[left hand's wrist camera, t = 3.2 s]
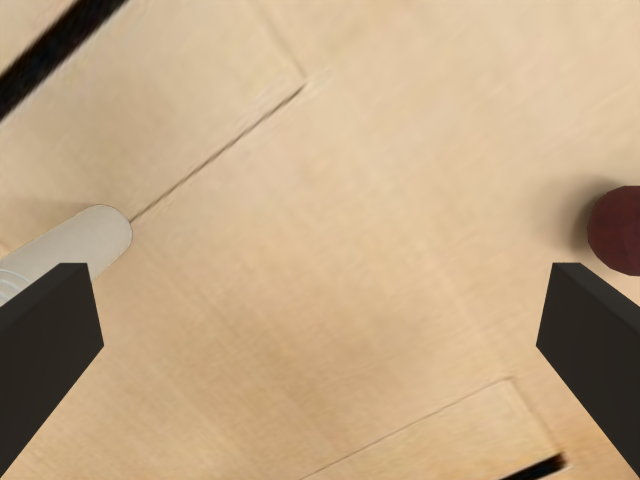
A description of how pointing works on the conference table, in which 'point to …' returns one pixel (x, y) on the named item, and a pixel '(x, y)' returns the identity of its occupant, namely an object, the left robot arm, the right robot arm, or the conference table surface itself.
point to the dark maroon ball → (617, 230)
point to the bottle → (67, 248)
